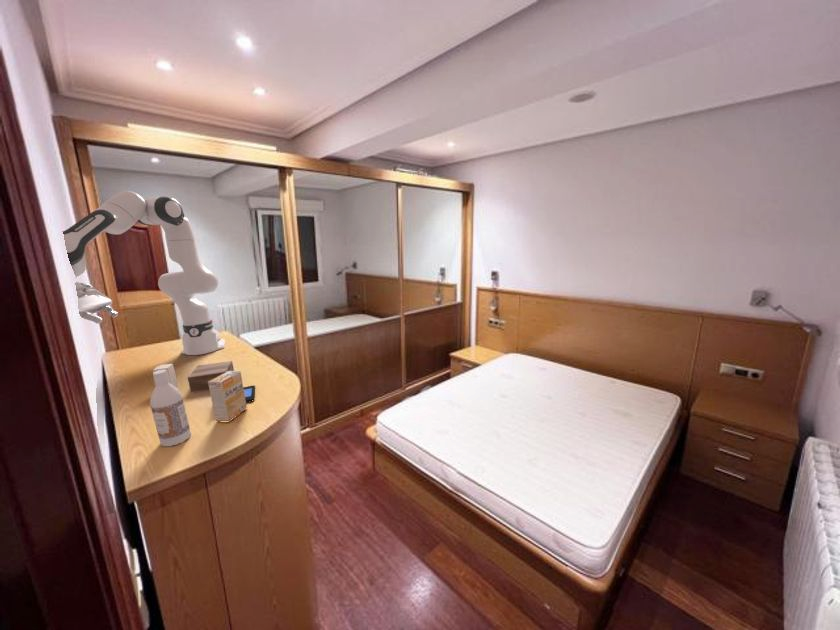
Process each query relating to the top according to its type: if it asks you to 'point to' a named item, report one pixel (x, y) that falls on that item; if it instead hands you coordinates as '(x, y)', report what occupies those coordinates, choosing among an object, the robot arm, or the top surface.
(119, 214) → the robot arm
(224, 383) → the supplement box
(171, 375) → the cream block
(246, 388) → the handheld game console
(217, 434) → the top surface
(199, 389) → the walnut block
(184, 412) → the bath foam
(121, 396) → the top surface
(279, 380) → the top surface
